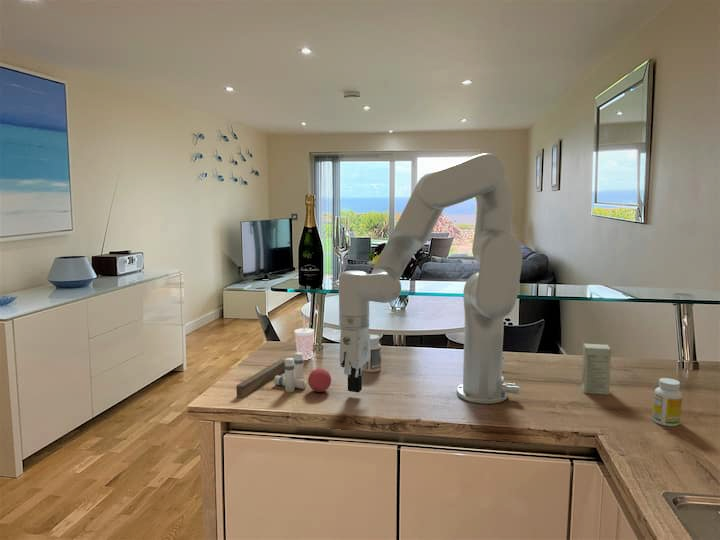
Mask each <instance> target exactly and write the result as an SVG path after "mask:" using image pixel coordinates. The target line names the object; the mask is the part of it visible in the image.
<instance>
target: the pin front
mask: <svg viewBox="0 0 720 540" xmlns="http://www.w3.org/2000/svg"><path fill="white" fill-rule="evenodd" d="M294 381H295V388H296V389H301V390H302V389H306V387H307V379H305V378H303V379H297V378H295V377H294ZM273 383H274V385H275V386H277V385H278V386H282V387H285V375H278V376H275V378H273Z"/></svg>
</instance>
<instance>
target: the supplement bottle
mask: <svg viewBox="0 0 720 540" xmlns="http://www.w3.org/2000/svg"><path fill="white" fill-rule="evenodd" d="M680 388H681V383H680V381H679V380H677V379H675V378H674V379H673V378H668V377H661V378H659V380H658V387H656V388H655V389H654V393H653V404H652V415H651V416H652V417H651V418H652V420H653V421H654V422H655V423H656V424H658V425H662V426H664V427H676V426H679V425H680V423H681V412H682V403H683V393H682V391H680Z"/></svg>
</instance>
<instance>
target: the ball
mask: <svg viewBox="0 0 720 540" xmlns="http://www.w3.org/2000/svg"><path fill="white" fill-rule="evenodd" d="M307 380H308V381H307V383H308V386H309V388H310V389H311V390H312V391H314V392H317V393H322V392H324V391H325V392H326V391H327V390H328V389H329V388H330V387H331V383H332V377H331V374H330V373H329V371H328V370H326V369H324V368H315V369H313V370H312V371H311V372H310V373H309V375H308V379H307Z"/></svg>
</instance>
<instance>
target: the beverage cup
mask: <svg viewBox="0 0 720 540" xmlns="http://www.w3.org/2000/svg"><path fill="white" fill-rule="evenodd" d="M302 316H303V317H302V321H303V322H302V323H303V325H302V326H303V328H302V327H301V328H297V329H294V330H293V331H294V332H293V333H294V335H295V345H296V353H297V352H301V353H303V360H308V359H311V358H312V359H313V350H314V349H313V347H314V334H315V329H314V328H310V327H306V319H305V317H306V316H305V314H303V315H302ZM312 359H311V360H312ZM308 361H309V360H308Z"/></svg>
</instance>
